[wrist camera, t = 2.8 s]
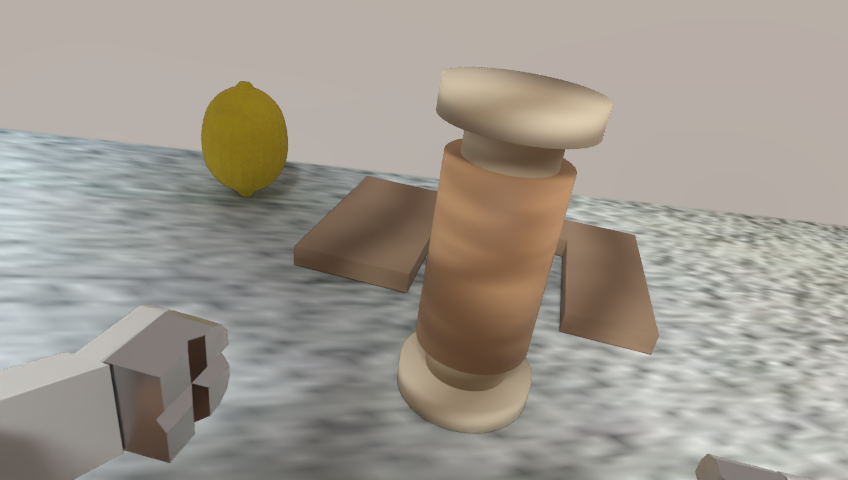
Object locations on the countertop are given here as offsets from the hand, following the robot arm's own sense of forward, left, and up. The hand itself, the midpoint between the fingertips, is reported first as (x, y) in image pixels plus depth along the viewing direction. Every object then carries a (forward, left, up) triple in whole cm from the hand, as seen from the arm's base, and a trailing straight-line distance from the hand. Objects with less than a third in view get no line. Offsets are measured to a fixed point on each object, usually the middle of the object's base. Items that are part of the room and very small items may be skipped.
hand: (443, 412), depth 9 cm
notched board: (-1, +25, -10) cm, 27 cm away
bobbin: (0, +12, -10) cm, 16 cm away
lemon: (-18, +25, -10) cm, 33 cm away
